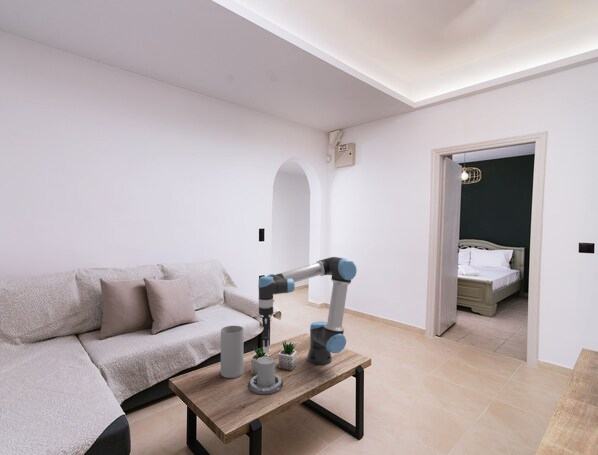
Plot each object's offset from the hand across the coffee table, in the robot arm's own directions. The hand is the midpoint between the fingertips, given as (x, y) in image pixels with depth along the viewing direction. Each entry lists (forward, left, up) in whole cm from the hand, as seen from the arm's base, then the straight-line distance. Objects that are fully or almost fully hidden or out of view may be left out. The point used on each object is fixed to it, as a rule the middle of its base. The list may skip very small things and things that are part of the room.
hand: (266, 347), depth 165 cm
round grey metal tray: (0, 0, -20) cm, 20 cm away
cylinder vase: (+19, -15, -21) cm, 32 cm away
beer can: (0, 0, -19) cm, 19 cm away
